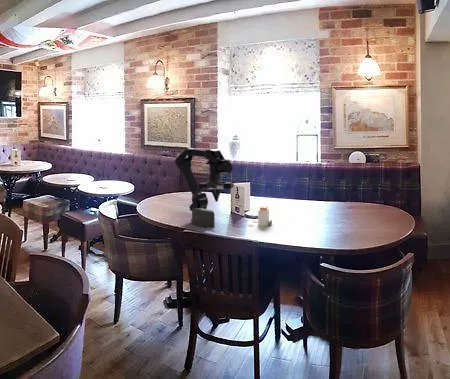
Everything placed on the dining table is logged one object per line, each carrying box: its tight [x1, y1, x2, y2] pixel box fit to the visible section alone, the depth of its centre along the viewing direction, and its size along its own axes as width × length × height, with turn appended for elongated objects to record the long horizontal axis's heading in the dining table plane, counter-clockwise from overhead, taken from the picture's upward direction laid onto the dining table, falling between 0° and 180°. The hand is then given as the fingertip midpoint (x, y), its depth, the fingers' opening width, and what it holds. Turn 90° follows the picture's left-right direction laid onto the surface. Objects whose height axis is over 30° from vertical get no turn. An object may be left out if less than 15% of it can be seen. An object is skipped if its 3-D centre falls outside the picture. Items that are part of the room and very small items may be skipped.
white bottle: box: [257, 205, 270, 227], centre depth 212 cm, size 4×4×10 cm
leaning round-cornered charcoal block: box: [191, 208, 216, 229], centre depth 215 cm, size 16×5×9 cm, turn 48°
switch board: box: [247, 219, 273, 228], centre depth 215 cm, size 16×11×4 cm
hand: (216, 201), depth 217 cm, fingers closed
